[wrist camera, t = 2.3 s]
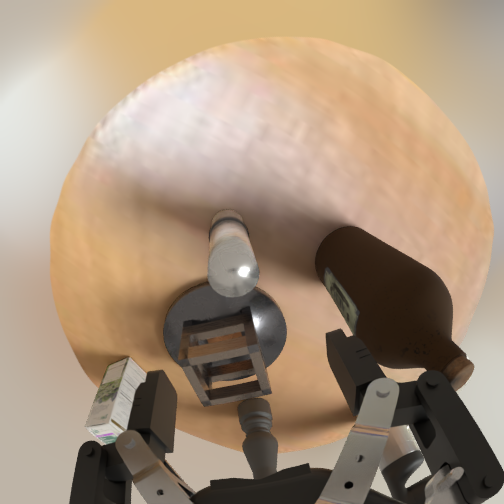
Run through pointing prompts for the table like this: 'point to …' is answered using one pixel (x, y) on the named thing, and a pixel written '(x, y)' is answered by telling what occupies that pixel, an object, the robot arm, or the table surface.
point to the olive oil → (392, 304)
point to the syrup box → (114, 400)
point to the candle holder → (258, 437)
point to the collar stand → (225, 341)
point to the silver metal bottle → (231, 256)
